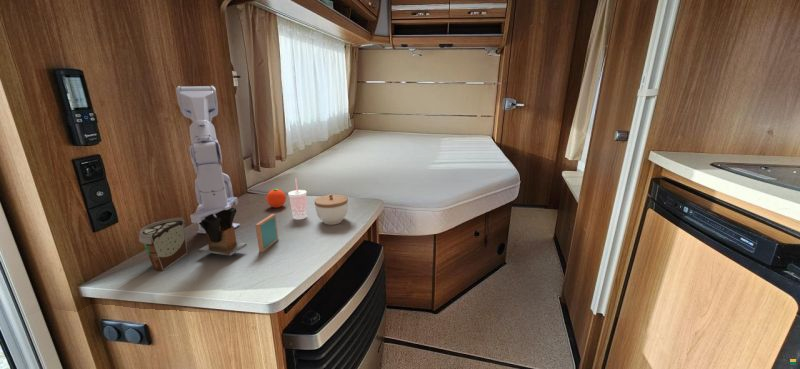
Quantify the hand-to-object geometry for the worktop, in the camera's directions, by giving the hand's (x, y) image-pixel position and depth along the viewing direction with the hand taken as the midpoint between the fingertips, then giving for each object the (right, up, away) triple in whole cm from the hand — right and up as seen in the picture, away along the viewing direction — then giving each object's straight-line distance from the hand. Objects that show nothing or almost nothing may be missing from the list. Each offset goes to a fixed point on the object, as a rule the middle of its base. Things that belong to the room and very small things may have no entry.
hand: (221, 238), depth 88 cm
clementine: (+1, +6, +38) cm, 39 cm away
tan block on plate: (0, -3, +1) cm, 3 cm away
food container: (-14, -6, -2) cm, 15 cm away
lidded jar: (+25, +2, +23) cm, 34 cm away
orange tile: (+10, -3, +6) cm, 12 cm away
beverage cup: (+13, +3, +27) cm, 30 cm away
